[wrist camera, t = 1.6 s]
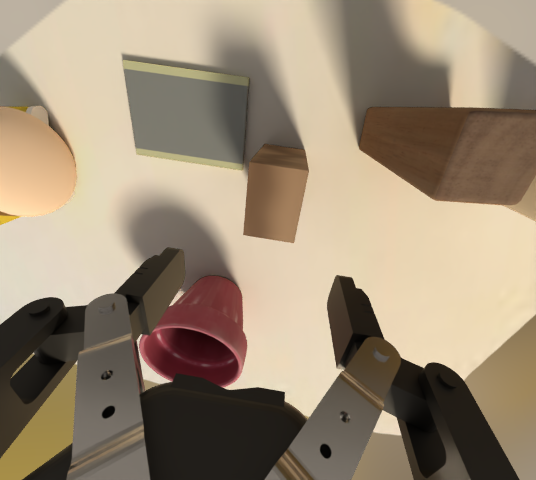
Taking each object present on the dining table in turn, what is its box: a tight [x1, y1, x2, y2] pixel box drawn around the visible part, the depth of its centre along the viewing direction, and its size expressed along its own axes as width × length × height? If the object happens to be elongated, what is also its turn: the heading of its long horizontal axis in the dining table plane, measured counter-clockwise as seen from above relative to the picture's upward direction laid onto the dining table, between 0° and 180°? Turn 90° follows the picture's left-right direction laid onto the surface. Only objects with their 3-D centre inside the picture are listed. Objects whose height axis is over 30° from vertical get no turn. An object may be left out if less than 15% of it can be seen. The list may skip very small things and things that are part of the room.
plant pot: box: [139, 276, 247, 388], centre depth 37 cm, size 14×14×13 cm
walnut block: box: [243, 144, 309, 243], centre depth 26 cm, size 5×7×11 cm
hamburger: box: [0, 106, 77, 225], centre depth 28 cm, size 12×8×12 cm
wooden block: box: [359, 107, 536, 205], centre depth 19 cm, size 9×4×18 cm, turn 88°
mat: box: [123, 60, 249, 170], centre depth 28 cm, size 14×10×1 cm
